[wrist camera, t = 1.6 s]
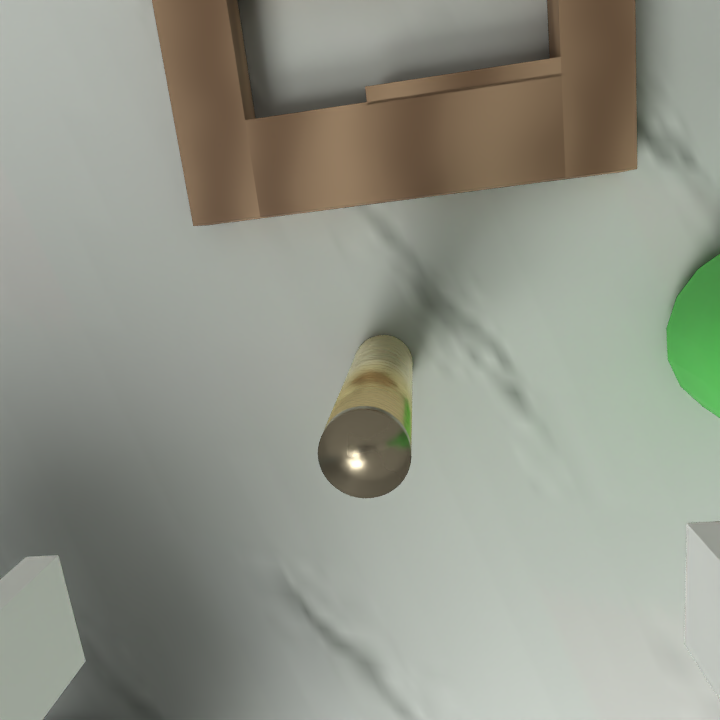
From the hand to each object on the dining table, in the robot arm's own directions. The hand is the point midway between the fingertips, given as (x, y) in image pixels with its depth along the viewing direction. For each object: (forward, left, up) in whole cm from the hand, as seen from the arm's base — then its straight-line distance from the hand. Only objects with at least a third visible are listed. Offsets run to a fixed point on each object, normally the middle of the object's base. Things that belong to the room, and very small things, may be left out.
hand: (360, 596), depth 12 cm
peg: (0, 0, -19) cm, 19 cm away
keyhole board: (+2, +15, -19) cm, 24 cm away
